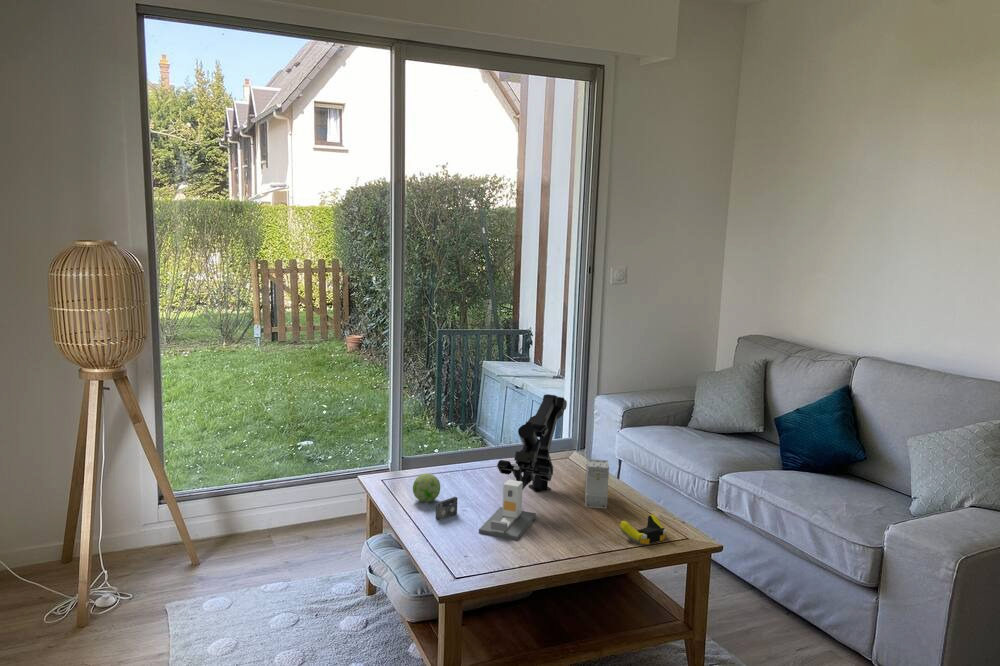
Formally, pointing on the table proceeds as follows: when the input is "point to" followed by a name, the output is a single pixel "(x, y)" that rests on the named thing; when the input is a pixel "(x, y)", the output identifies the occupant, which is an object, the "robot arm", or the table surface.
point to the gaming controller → (645, 531)
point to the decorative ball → (426, 487)
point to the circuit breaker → (596, 483)
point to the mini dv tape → (446, 508)
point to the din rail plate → (507, 524)
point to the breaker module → (512, 498)
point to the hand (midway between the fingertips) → (518, 492)
